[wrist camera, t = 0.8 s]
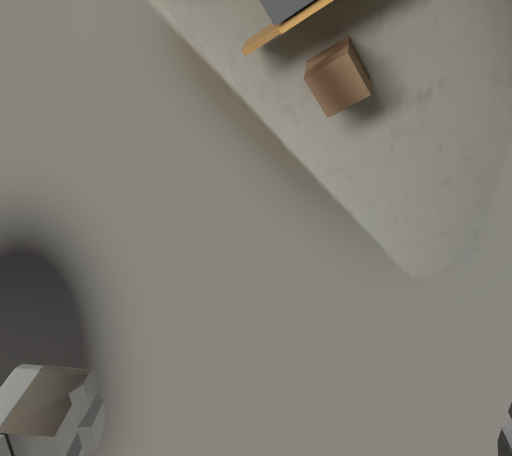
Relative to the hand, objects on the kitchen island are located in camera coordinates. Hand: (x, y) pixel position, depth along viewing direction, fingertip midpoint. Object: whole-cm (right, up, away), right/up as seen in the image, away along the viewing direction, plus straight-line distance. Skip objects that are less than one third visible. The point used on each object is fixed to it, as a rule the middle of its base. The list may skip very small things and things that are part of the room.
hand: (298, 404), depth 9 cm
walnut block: (+8, +21, +41) cm, 47 cm away
